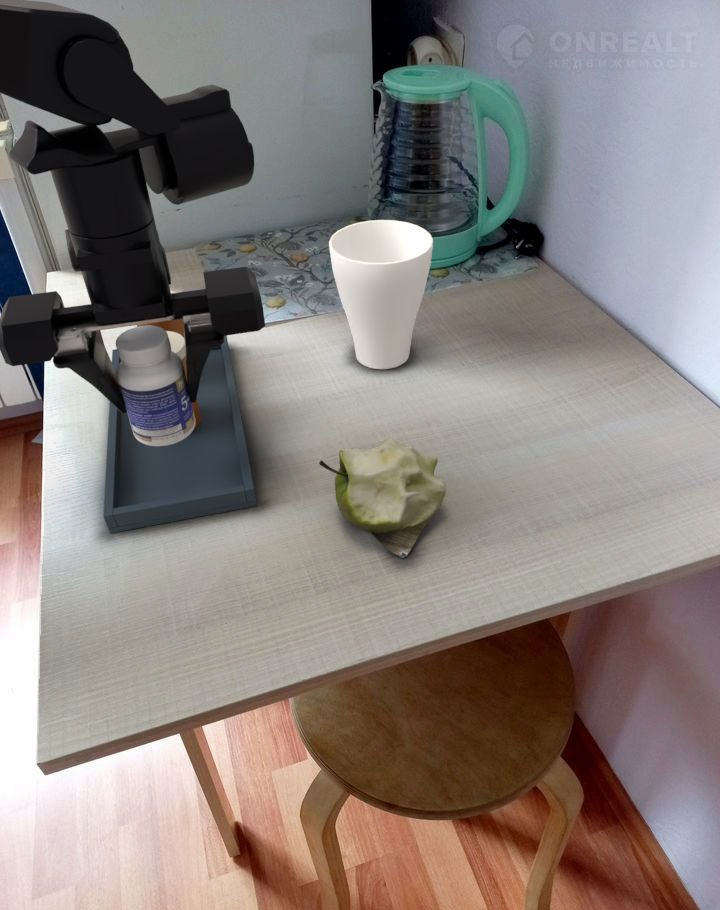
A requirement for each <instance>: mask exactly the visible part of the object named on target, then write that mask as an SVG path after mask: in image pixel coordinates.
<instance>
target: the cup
mask: <svg viewBox="0 0 720 910" xmlns="http://www.w3.org/2000/svg"><path fill="white" fill-rule="evenodd" d="M433 248H434V239H433V236H432V235H431V233H430V232H429V231H428V230H426V228H423V227H421V226H419V225H417V224H414V223H411V222H407V221H401V220H397V219H396V220H395V219H394V220H393V219H374V220H373V219H372V220H365V221H360V222H355V223H352V224H349V225H346V226H344V227H342V228H341V229H338V230H337V231H336V232H334V233H333V234H332V235H331V237H330V238H329V241H328V249H329V254H330V255H329V256H330V261H331V269H332V274H333V277H334V281H335V284H336V289H337V293H338V296H339V300H340V302H341V305H342V308H343V310H344V313H345V315H346V317H347V319H346V320H347V322H348V326H349V329H350V332H351V336H352V340H353V346H354V353H355V359H356V360H357V362H359V363H360V364H361V365H363V366H364V367H366V368H369V369H374V370H390V369H395V368H397V367H399V366H403V364H404V363H406V362H407V361H408V360H409V358H410V352H411V345H412V336H413V332H414V327H415V325H416V320H417V316H418V313H419V310H420V308H421V304H422V302H423V299H424V294H425V292H426V291H425V290H426V286H427V282H428V277H429V273H430V270H431V265H432V256H433Z"/></svg>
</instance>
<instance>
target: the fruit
mask: <svg viewBox="0 0 720 910" xmlns="http://www.w3.org/2000/svg"><path fill="white" fill-rule="evenodd" d="M338 457H339V458H338V459H339V468H338V470H337V469H335V468H332V467H330V466H329V465H328V464H326V463H325V462H324V460H322V459H321V460H319V463H318V465H319V466H321V467H322V468H324V469H326V470H328V471H330V472H332V473H333V474H336V475H335V477H334V490H335V493H334V494H335V500H336V503H337V507H338V509H339V511H340V512H341V514H342V515H343V517H344V518H345V519H346V521H348V523H350V524H352V525H354V526H356V527H357V528H360V530H363V531H365V532H367V533H368V534H370V535H371V536H373V537H374V538H375V539H376V540H377V541H378V542H379V543H380V544H381V545H383V546H384V547H385V548H386V549H387V550H388V551H390V552H391V553H392V554H394V555H396V556H398V557H400V558H403V559H404V558H407V557H408V556H409V554H410V552H411V551H412V548H413V546H414V545H415V543H416V541H417V540H418V538H419V536H420V534H421V533H422V531H423V530H424V528H425V526H426V525H427V523H428V522H430V521H431V519H433V517H434V515H435V514H437V512H438V510H439V509H440V507H441V505H442V503H443V501H444V498H445V495H446V493H447V486H446V483H445V481H444V480H443V479H442V478H441V477H439V476H435V470H436V467H437V464H438V462H439V459H438V456H430V455H422V454H420V453H419V452H418V450H416V449H414V448H413V446H403V445H401V444H400V443H398V441H397V440H396V439H395V438H393V437H392V436H387V437H385V439H384V440H383V441H382V442H381V444H380V445H378V446H375V447H373V448H371V449H362V448H360V447H354V448H349V447H348V448H346V447H345V448H341V449H340V450H339V451H338Z"/></svg>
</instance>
